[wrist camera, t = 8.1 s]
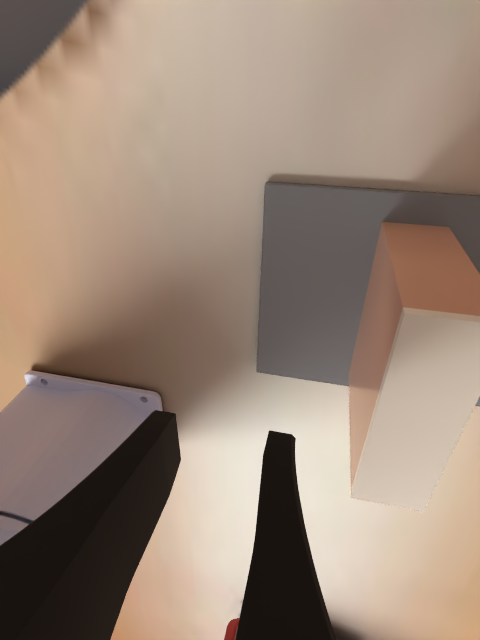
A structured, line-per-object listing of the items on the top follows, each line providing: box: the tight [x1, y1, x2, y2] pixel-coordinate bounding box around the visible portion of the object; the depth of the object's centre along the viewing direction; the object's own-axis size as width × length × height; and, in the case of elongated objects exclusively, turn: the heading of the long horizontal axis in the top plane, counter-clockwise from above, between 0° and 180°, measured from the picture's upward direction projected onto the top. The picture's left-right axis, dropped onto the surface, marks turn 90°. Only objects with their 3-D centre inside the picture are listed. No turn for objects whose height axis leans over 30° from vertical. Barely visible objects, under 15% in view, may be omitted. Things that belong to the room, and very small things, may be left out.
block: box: [349, 222, 480, 512], centre depth 15 cm, size 2×8×7 cm, turn 0°
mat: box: [257, 182, 480, 406], centre depth 17 cm, size 18×10×1 cm, turn 90°
